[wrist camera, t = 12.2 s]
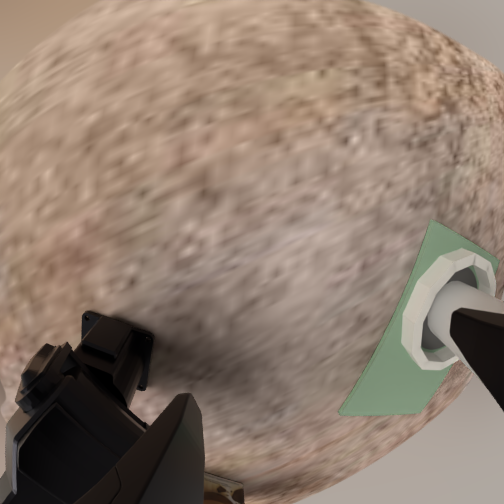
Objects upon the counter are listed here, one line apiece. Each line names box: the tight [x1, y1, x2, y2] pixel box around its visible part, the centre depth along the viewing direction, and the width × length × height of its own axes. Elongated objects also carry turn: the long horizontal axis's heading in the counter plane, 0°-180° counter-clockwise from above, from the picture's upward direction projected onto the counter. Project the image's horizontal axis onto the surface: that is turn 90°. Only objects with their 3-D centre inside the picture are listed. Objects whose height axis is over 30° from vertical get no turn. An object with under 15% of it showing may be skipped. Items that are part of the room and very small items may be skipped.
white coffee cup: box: [428, 281, 504, 383], centre depth 17 cm, size 7×7×10 cm
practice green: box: [338, 219, 500, 416], centre depth 23 cm, size 21×13×3 cm, turn 162°
